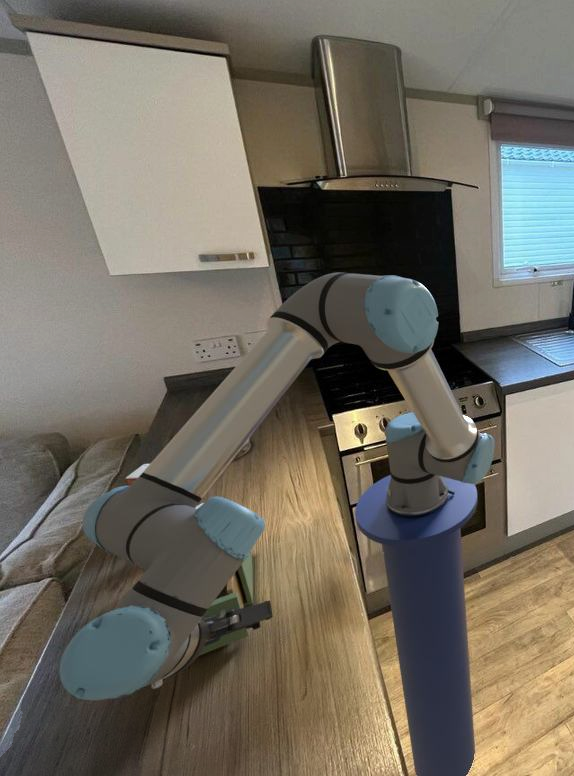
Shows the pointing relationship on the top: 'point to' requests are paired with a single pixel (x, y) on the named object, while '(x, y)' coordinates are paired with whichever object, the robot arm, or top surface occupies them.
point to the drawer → (222, 604)
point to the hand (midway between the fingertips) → (203, 638)
